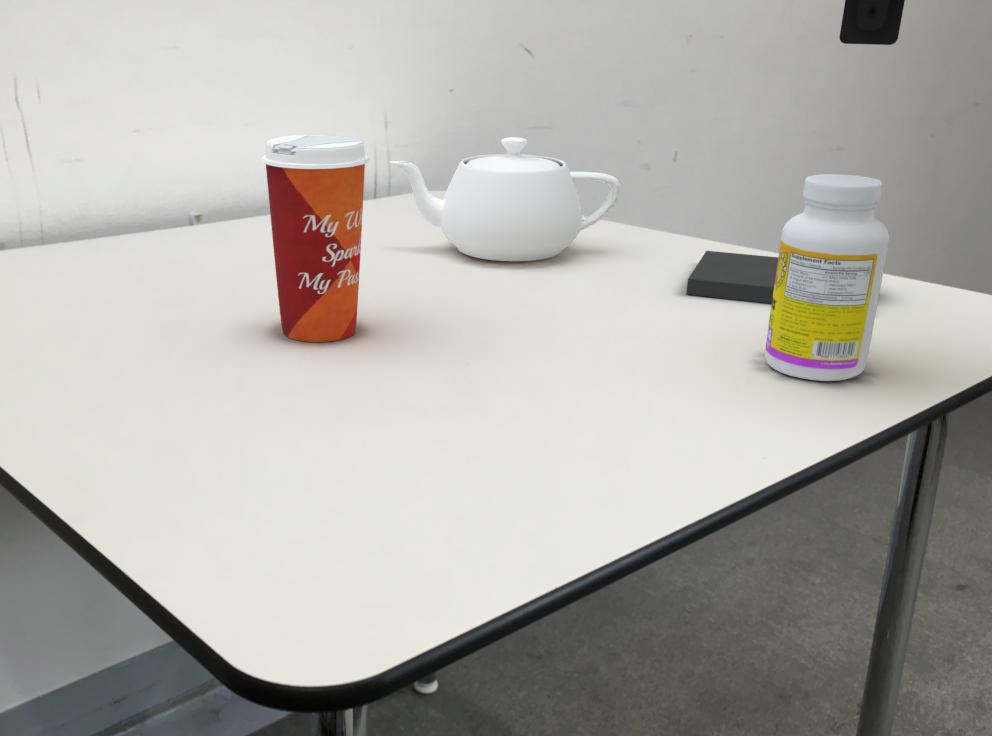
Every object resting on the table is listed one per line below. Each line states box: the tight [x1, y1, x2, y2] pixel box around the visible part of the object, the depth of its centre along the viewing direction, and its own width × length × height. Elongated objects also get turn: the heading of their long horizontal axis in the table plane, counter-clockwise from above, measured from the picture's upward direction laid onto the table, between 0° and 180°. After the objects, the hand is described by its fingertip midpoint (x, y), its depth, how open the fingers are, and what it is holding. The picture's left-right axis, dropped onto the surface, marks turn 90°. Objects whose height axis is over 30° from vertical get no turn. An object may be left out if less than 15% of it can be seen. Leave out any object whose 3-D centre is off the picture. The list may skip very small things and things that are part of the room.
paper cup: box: [260, 134, 370, 343], centre depth 80 cm, size 8×8×14 cm
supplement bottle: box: [764, 173, 890, 382], centre depth 73 cm, size 7×7×13 cm
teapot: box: [388, 136, 621, 262], centre depth 104 cm, size 22×14×11 cm, turn 88°
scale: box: [685, 250, 779, 305], centre depth 94 cm, size 15×11×3 cm
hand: (868, 38), depth 67 cm, fingers open, 4 cm apart
